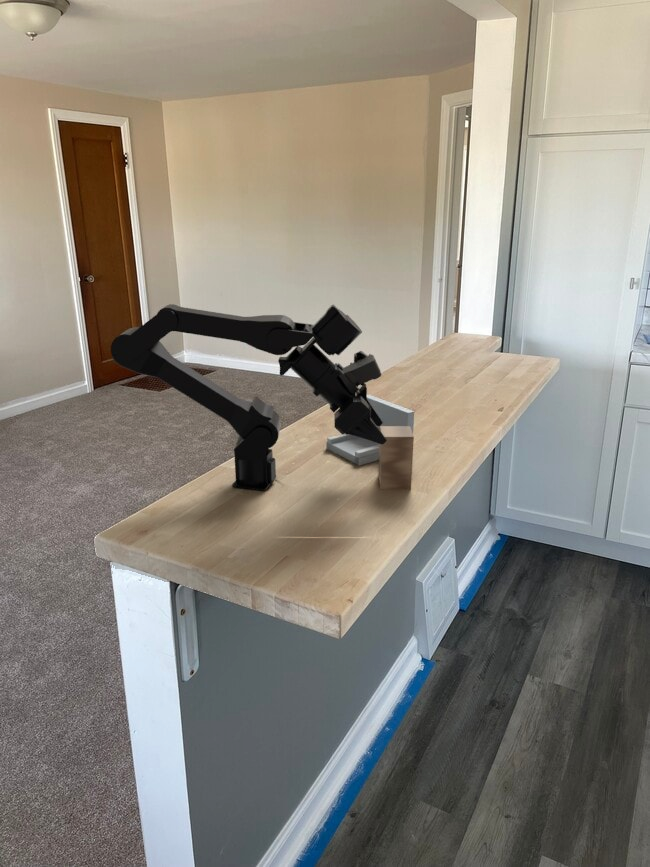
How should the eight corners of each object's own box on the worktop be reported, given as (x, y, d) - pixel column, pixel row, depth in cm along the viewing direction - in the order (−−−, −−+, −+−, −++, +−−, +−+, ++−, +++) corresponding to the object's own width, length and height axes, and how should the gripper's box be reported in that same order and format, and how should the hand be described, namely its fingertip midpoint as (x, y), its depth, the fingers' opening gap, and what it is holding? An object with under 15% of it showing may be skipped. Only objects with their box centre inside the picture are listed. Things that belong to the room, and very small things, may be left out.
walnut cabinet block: (380, 488, 115) (382, 436, 112) (378, 476, 121) (379, 426, 117) (411, 488, 115) (413, 436, 112) (407, 476, 121) (410, 426, 117)
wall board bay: (371, 471, 123) (372, 422, 119) (316, 443, 136) (316, 398, 133) (411, 458, 128) (414, 411, 125) (355, 433, 142) (356, 390, 139)
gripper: (355, 353, 100) (423, 420, 104) (351, 330, 118) (409, 387, 121) (306, 402, 103) (373, 465, 107) (309, 372, 120) (367, 427, 124)
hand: (382, 433), depth 115 cm, fingers open, 9 cm apart
